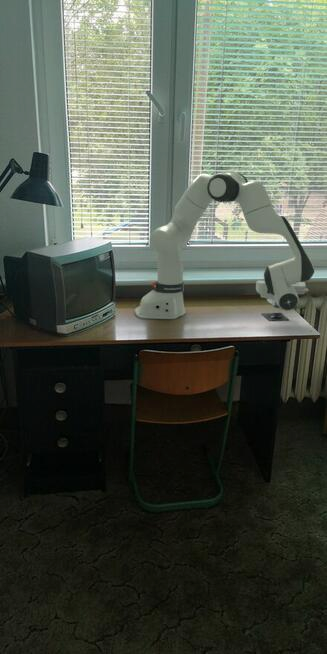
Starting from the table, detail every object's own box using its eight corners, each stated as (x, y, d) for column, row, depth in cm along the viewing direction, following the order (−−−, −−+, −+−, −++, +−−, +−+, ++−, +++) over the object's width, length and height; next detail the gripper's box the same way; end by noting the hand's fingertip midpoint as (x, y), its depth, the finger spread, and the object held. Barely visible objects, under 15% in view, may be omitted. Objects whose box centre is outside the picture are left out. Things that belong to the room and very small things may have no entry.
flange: (269, 321, 209) (269, 319, 209) (261, 314, 218) (261, 312, 217) (288, 320, 211) (289, 318, 211) (280, 313, 219) (280, 312, 219)
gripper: (310, 284, 195) (304, 275, 208) (258, 282, 196) (255, 274, 209) (308, 299, 197) (302, 290, 210) (257, 297, 199) (254, 288, 212)
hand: (278, 282), depth 210 cm, fingers closed on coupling, 5 cm apart
